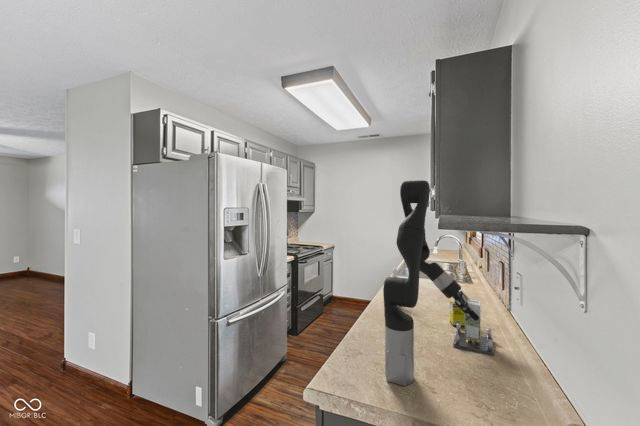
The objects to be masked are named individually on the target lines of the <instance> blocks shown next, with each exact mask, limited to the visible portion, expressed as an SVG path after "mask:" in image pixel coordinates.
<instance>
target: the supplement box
mask: <svg viewBox="0 0 640 426" xmlns="http://www.w3.org/2000/svg"><path fill="white" fill-rule="evenodd" d="M449 323H450V324H451V326H452V327H457V323H460V324H461V327H462V328H465V313H464V312H463V311H462V310H461V309H460V308H459V307H458V306H457V305H456V304H455V299H454V300H453V299H449Z"/></svg>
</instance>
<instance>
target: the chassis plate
mask: <svg viewBox="0 0 640 426" xmlns="http://www.w3.org/2000/svg"><path fill="white" fill-rule="evenodd" d="M452 347H453V348H456V349H460V350H465V351H470V352H474V353H479V354H484V355H488V356H494V354H495V353H494V341H493V337H492V328H486V336H483V335H481V337H480V340H477V339H472V338H467V337H465V332H463V331H462V330H461V324H460V323H457V326H456V331H455V332H454V339H453V344H452Z"/></svg>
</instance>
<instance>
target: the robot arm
mask: <svg viewBox="0 0 640 426" xmlns="http://www.w3.org/2000/svg"><path fill="white" fill-rule="evenodd" d="M430 186H431V185H430V183H429V182H428V181H427V180H424V179H423V180H405V181H403V182H401V184H400V188H399V190H400V191H399V194H400V195H399V196H400V201H401V205H402V209H403V214H404V218H405V219H404V220H402V222H401V223H400V224H399V227H398V230H397V236H396V247H397V249H398V252H399V253H400V256H401V257H402V259H403V261H404V263H405V265H406V267H407V270H408V276H407V277H408V278H407V277H406V278H405V277H398V276H397V277H392V276H387V277H386V278H385V279H384V282H383V288H382V289H383V292H382V293H383V308H384V310H383V312H384V336H385V337H384V347H385V349H384V353H385V354H384V355H385V356H384V357H385V358H384V359H385V360H384V361H385V363H384V364H385V365H384V366H385V367H384V368H385V372H384V373H385V377H386V381H387V382H389V383H393V384H397V385H400V386H403V387H407V385H409V384H412V383H413V382H414V379H415V363H414V362H415V353H414V351H415V349H414V347H415V346H414V344H415V343H414V342H415V341H414V340H415V338H414V334H415V332H414V331H415V329H414V325H415V324H414V319H413V317H412V316H411V315H410V314H408V313H406V312H405V311H403V310H402V309H400V308H399V307H401V308H403V307H404V308H410V309H414V308H415V307H417V304H418V300H419V293H420V292H419V288H420V272H421V273H422V274H424V275H425V276H426V277H427V278H428V279H429V280H430V281H431V282H432V283H433V284H434V286H435V287H436V288H437V289H438V290H439V291H440V292H441V293H442V294H443V295H444V297H446V298H447V299H450V298H453V299H454V300H455V304H456V305H457V306H458V307H459V308H460V309H461V310H462V311H463V312H464V313H465V314H469V315H470V316H471V317H472V318H473V319H474V320H475V321H476V320H478V319H479V316H478V315H477V314H476V313H475V312H474V311H473V310H472V309H471V308H470V307H469V304H468V302H467V301H466V300H471V299H470V298H469V297H468V296H467V295H466V294H465V293H464V292H463V291H462V286H461V285H460V284H459V283H458V282H457V281H456V280H455V279H454V278H453V277H452V276H451V275H450V274H449V273H447V271H445V270H444V269H443V268H442V267H441V265H439V263H437V262H435V261H433V262H430V263H429V262H426V260H428V259H429V257H430V255H431V252H430V248H429V245H428V242H427V240H426V239H427V238H426V228H425V226H426V224H425V223H426V216H427V210H428V204H429V199H430V192H431V187H430ZM412 204H416V206H415V208H412ZM465 303H466V304H465ZM397 306H399V307H397ZM465 307H466V308H467V309H465Z"/></svg>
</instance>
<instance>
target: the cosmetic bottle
mask: <svg viewBox="0 0 640 426" xmlns="http://www.w3.org/2000/svg"><path fill="white" fill-rule="evenodd" d="M391 272H392V276H391V277H398V268H397V267H392V271H391ZM397 307H398V308H399V307H400V306H397Z"/></svg>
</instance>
